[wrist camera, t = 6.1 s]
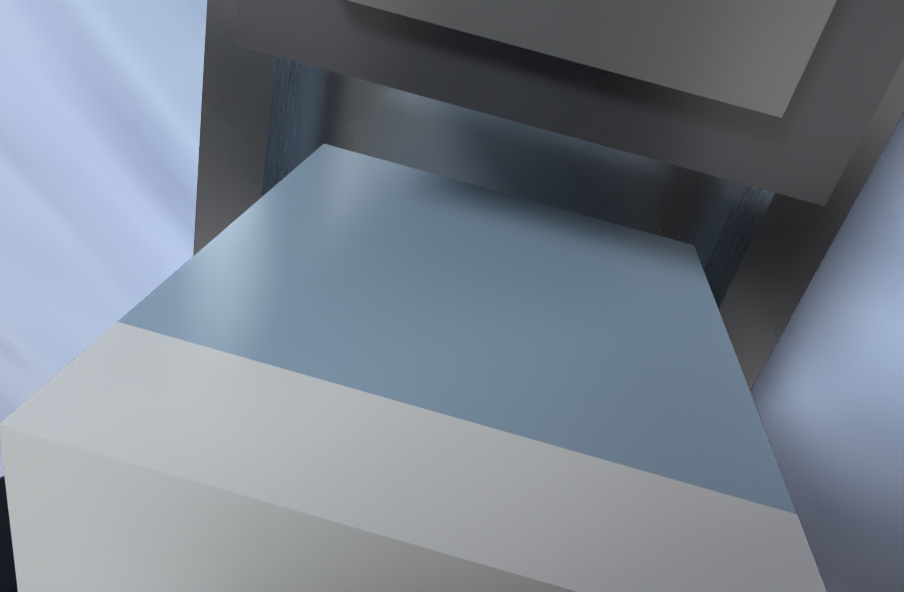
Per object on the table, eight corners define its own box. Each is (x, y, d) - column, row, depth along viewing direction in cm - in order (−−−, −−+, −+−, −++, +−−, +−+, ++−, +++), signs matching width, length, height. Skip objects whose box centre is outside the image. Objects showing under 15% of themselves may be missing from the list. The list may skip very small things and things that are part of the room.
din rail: (1024, -281, 7) (1971, -720, 2) (543, 686, 15) (530, 1034, 10) (309, -465, 7) (-198, -1224, 2) (211, 589, 15) (48, 887, 11)
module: (693, 245, 8) (858, 672, 3) (537, 597, 11) (512, 1076, 6) (324, 142, 8) (-4, 426, 3) (269, 520, 11) (57, 934, 6)
